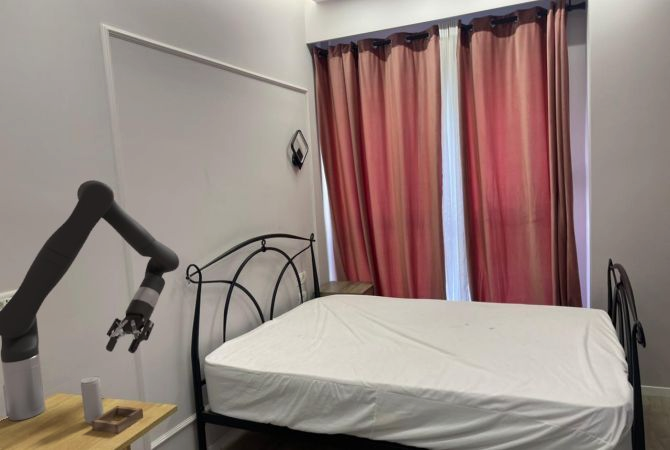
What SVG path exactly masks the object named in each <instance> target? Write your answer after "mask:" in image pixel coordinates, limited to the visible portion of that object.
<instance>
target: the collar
mask: <svg viewBox="0 0 670 450" xmlns="http://www.w3.org/2000/svg"><path fill="white" fill-rule="evenodd" d="M118 417H122V419H120V420H119V421H118V422H116V421H113V420H115V419H116V418H118ZM143 418H144V412H143V408H139V407H130V406H123V405H122V406H121V405H116V406H115V407H113V408H111V409H109V410H108V411H106V412H105V413H104V414H103V415H101V416H99V417H98V418H96V419H94V420H93V421H92V424H91V427H92V428H91V429H92V431H97V432H103V433H110V434H117V435H119V434H121V433H123V432H124V431H126V430H127V429H128V428H130V427H131V426H133V425H134V424H136V423H137V422H139V421H140V420H142V419H143Z"/></svg>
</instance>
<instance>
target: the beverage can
mask: <svg viewBox="0 0 670 450" xmlns="http://www.w3.org/2000/svg"><path fill="white" fill-rule="evenodd" d="M80 389H81V397H82V406H83V414H84V421H85V423H86V424H88V425H92V421H93V420H94V419H96V418H98V417H99V416H101V415H103V414H104V404H103V394H102V385H101V378H100V377H99V376H98V375H91V376H88V377H85V378H82V379H81V380H80Z"/></svg>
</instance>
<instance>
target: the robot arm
mask: <svg viewBox="0 0 670 450" xmlns="http://www.w3.org/2000/svg"><path fill="white" fill-rule="evenodd" d="M76 193H77V194H76V196H77V199H78V201H77V203H76V204H75V207H74V208H73V210H72V212H71V214H70V215H69V217H68V218H67V219H66V220H65V221H64V222H63V224H61V225H60V226H59V227H58V228H57V229H56V230H55V231H54V232H53V233H52V234H51V235H50V236H49V238H48V239H46V241H45V242H44V244H43V246H42V247H41V248H40V250H39V251H38V253H37V254H36V256H35V258H34V260H33V261H32V263H31V265H30V267H29V268H28V270H27V272H26V274H25V276H24V278H23V280H22V282H21V284H20V285H19V287H18V289H16V291H15V293H14V294H13V295H12V296H11V298H10V299H9V301H7V302H6V303H5V305H4V306H3V308H1V310H0V337H1V338H0V340H1V345H0V346H1V347H0V361H1V367H2V369H1V370H2V375H3V383H4V384H3V385H2V390H3V398H4V406H5V413H6V417H7V418H8V419H9V420H10V421H23V420H27V419H30V418H34V417H35V416H38V415H40V414H41V413H43V412H44V411H45V410H46V401H45V400H46V399H45V391H44V383H43V375H42V367H41V360H40V351H39V349H40V348H39V343H40V341H39V340H40V338H39V329H38V319H37V314H38V312H39V310H40V308H41V306H42V304H43V303H44V301H45V300H46V298H47V297H48V295H49V294H50V293H51V292H52V290H54V288H55V287H56V286H57V285H58V284H59V283H60V281H61V280H62V278H63V277H64V276H65V275H66V273H67V272H68V271H69V269H70V267H71V266H72V264H73V263H74V262H75V260H76V258H77V257H78V255H79V253H80V251H81V250H82V248H83V247H84V245H85V243H86V241H87V240H88V238H89V236H90V234H91V232H92V231H93V229H94V228H95V227H96V225H97V224H98V223H99V221H100V220H101V219H103V220H104V221H105V222H107V224H108V225H110V226H111V227H112V228H113V229H114V230H115V231H116V233H118V235H120V237H121V238H123V240H124V241H125V242H126V243H127V244H128V245H130V247H131V248H132V249H133V250H134V251H135V252H137V253H138V254H139V256H142V257H144V258H145V257H147V258H150V259H149V260H148V261H147V263H146V268H145V272H144V277H143V280H142V282H141V283H140V285H139V287H138V289H137V291H135V293H134V295H133V297H132V299H131V300H130V303H129V305H128V306H127V308H126V309H125V317H124V318H123V319H120V318H118V317H115V319H114V320H113V322H112V324H111V325H110V328H109V329H108V331H107V333H106V335H107V337H109V340H108V342H107V344H106V346H105V349H106V350H107V352H113V350H114V348H115V347H116V345H117V343H118V341H119V340H120V339H121V338H123V337H125V336H126V335H134V337H133V339H132V341H131V343H130V345H129V347H128V350H127V351H128V352H129V353H130V354H135V352H137V350H138V348H139V346H140V344H141V343H142V342H143V341H148V340H149V338H150V336H151V333H152V331H153V328H154V325H155V323H154V322H153V321H152V320H151V317H152V314H153V313H154V311H155V309H156V306H157V304H158V303H159V298H160V296H161V294H162V292H163V290H164V287H165V285H166V280H165V278H163V275H164V274H166V273H170V272H174V271H175V270H177V269H178V268H179V266H180V258H179V257H178V255H177V253H176V252H175V251H173V249H171V248H169V247H168V246H167V245H165V244H163V243H162V242H160V241H158V240H156V238H155V237H154V236H153V235H152V234H151V233H150V232H149V231H148V230H147V229H146V228H145V227H144V226H142V225H141V224H140V223H139V222H138V221H137V220H136V219H134V218H133V217H132V216H131V215H129V214H128V213H127V212H126V211H125V210H124V209H123V208H122V207H121V206H120V205H119V204H118V203H117V201H116V200H115V194H114V191H113V189H112V188H111V186H109V185H108V184H106V183H104V182H103V181H102V182H101V181H99V180H94V179H93V180H91V179H90V180H87V181H84V182H83V183H81V184H80V186H79V187H78V189H77V192H76Z"/></svg>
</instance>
